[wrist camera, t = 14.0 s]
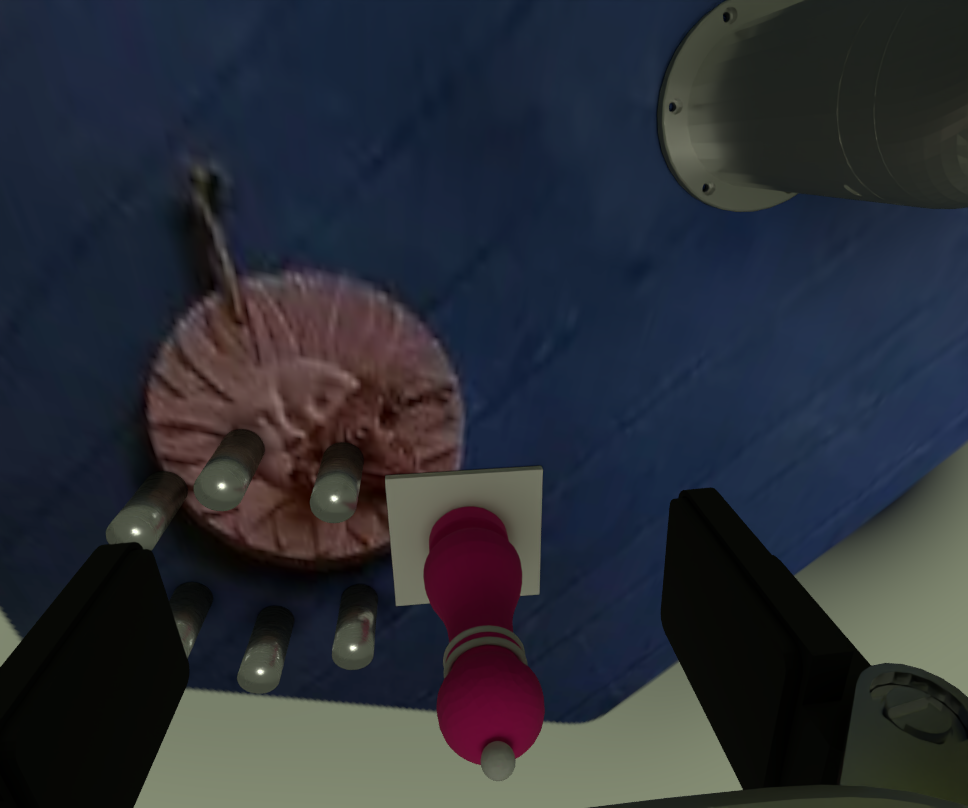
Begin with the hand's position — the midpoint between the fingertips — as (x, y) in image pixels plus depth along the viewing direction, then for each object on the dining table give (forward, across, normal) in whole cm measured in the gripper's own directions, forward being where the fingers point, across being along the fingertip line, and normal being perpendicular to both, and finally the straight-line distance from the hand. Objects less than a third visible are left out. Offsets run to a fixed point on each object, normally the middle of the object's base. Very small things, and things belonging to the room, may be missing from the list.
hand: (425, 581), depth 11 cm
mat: (+32, -2, +22) cm, 39 cm away
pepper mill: (+31, -2, +22) cm, 38 cm away
